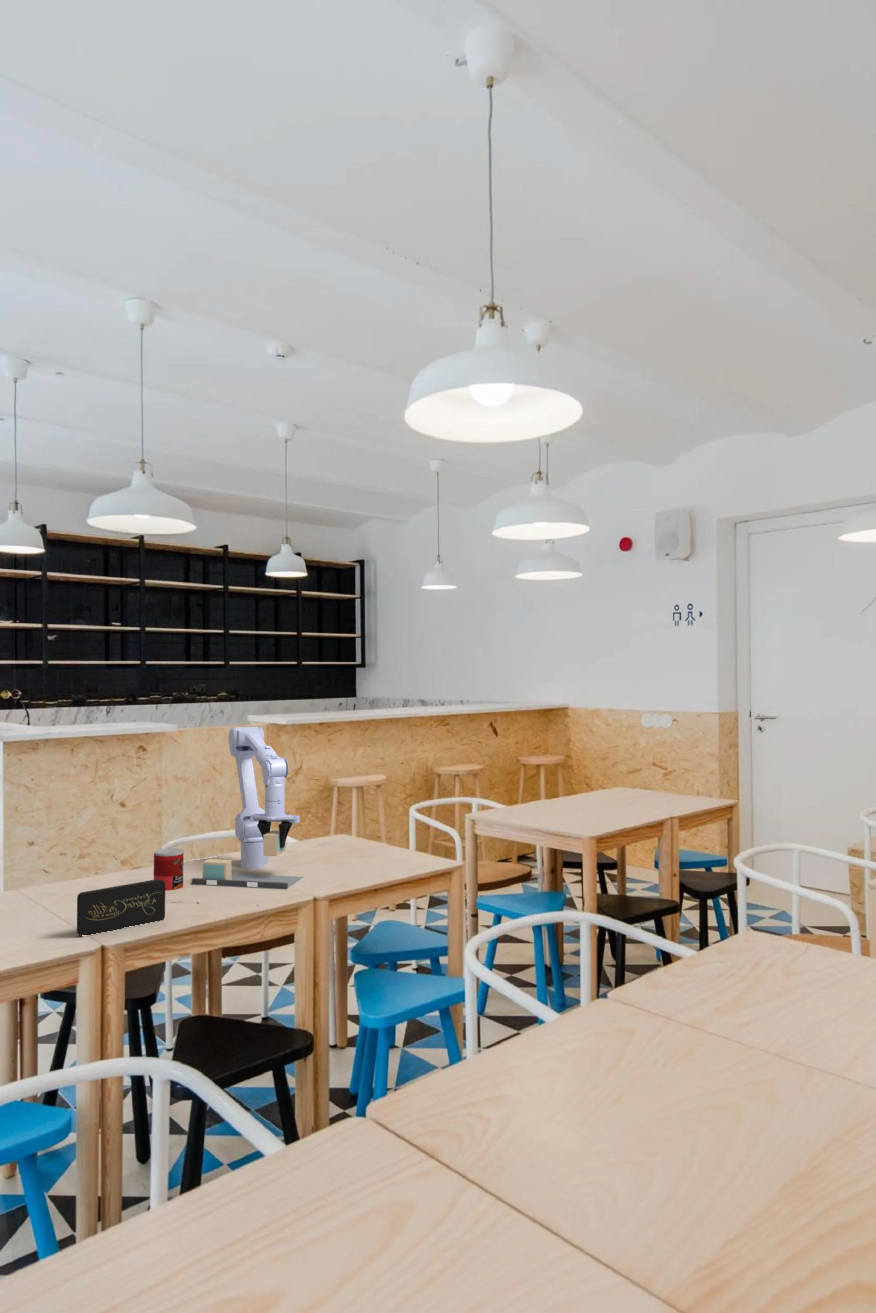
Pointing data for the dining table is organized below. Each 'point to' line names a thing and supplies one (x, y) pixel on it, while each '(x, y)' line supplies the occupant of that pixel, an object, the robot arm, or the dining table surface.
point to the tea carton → (272, 844)
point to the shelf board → (251, 881)
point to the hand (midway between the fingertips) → (274, 846)
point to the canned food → (169, 867)
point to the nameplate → (120, 907)
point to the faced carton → (217, 869)
